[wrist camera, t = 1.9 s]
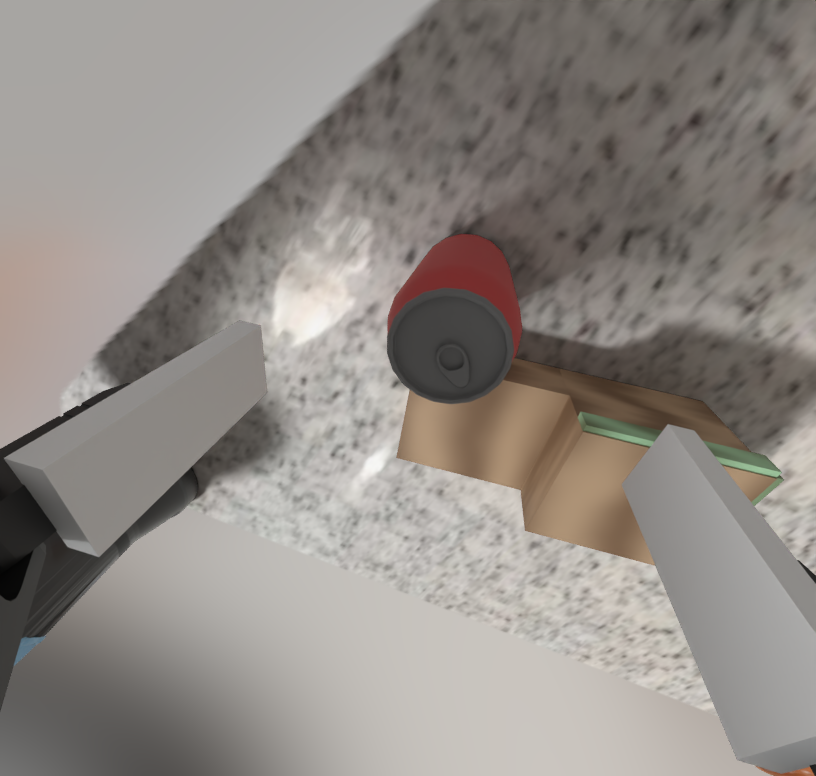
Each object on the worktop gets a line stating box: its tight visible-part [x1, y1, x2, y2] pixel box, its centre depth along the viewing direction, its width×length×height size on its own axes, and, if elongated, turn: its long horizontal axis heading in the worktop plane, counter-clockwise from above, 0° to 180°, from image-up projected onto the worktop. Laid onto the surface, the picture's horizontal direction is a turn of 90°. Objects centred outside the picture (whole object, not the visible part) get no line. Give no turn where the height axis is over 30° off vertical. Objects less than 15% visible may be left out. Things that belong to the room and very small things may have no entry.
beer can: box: [387, 234, 522, 404], centre depth 20 cm, size 7×7×12 cm
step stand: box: [397, 358, 784, 565], centre depth 26 cm, size 22×10×8 cm, turn 81°
